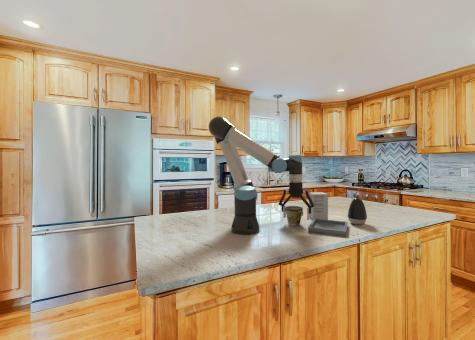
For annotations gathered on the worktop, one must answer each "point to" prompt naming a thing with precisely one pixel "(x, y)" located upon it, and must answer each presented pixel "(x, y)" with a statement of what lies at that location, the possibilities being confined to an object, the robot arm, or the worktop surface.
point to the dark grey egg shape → (357, 212)
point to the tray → (328, 227)
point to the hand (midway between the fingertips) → (296, 218)
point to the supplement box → (319, 206)
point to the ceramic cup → (294, 215)
